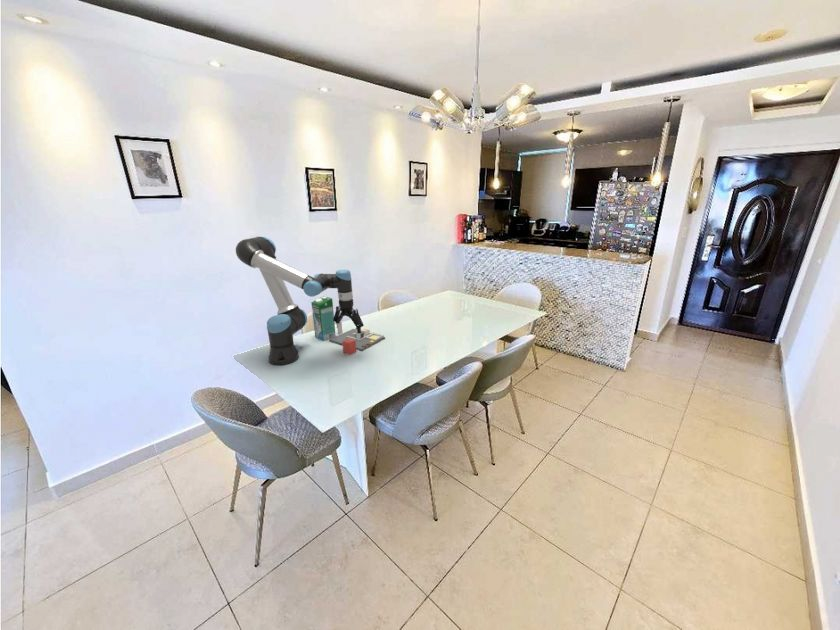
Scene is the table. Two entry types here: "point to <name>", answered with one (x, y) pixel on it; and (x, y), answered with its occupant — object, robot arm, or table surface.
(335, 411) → the table surface
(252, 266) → the robot arm
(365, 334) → the cream orange-banded box
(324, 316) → the milk carton
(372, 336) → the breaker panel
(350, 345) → the red rectangular block
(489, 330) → the table surface
